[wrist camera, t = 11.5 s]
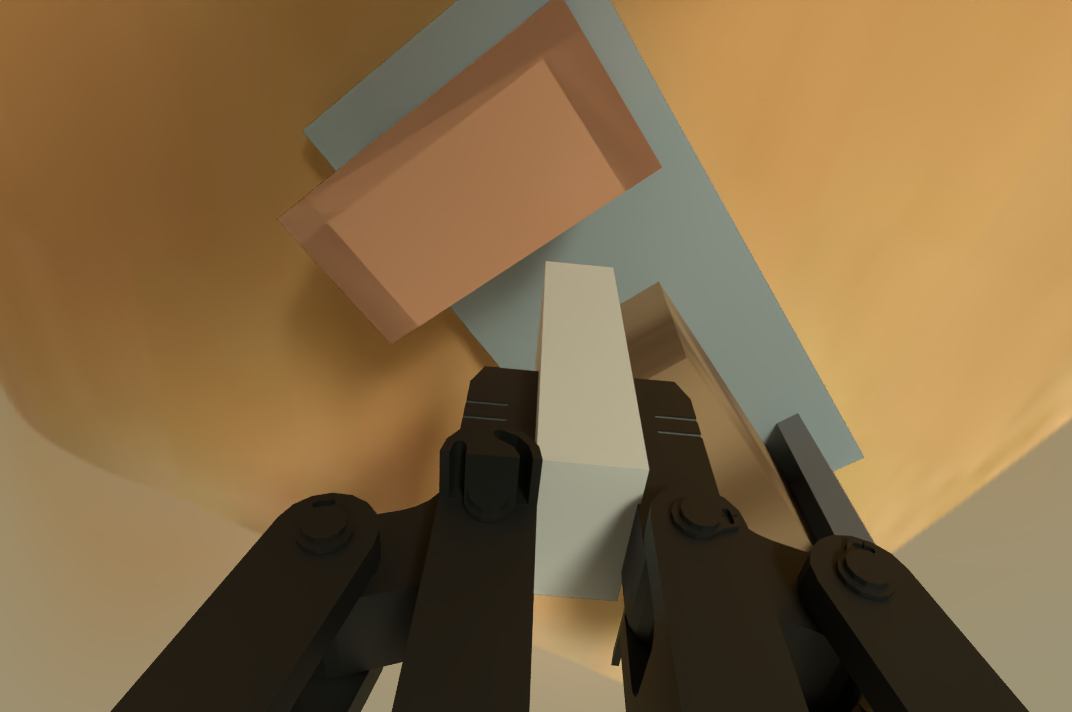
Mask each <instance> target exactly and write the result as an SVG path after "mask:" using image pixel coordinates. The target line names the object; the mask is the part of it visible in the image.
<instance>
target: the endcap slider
mask: <svg viewBox="0 0 1072 712" xmlns="http://www.w3.org/2000/svg"><path fill="white" fill-rule="evenodd" d="M661 168H662V166H661V164H660V162H659V161H658V159H657V157H656V156H655V154H654V152H653V150H652V149H651V147H650V145H649V144H648V142H647V140H646V139H645V137H644V135H643V133H642V132H641V130H640V128H639V127H638V125H637V123H636V122H635V120H634V118H633V116H632V115H631V113H630V111H629V110H628V108H627V106H626V104H625V103H624V101H623V99H622V98H621V96H620V94H619V93H618V91H617V89H616V87H615V86H614V84H613V82H612V81H611V79H610V77H609V76H608V74H607V72H606V70H605V69H604V67H603V65H602V64H601V62H600V60H599V58H598V57H597V55H596V53H595V52H594V50H593V48H592V47H591V45H590V43H589V41H588V40H587V38H586V36H585V35H584V33H583V31H582V30H581V28H580V26H579V24H578V23H577V21H576V19H575V18H574V16H573V14H572V12H571V11H570V9H569V7H568V6H567V4H566V2H565V1H564V0H550V1H549V2H548V3H547V4H545V5H544V6H543V7H541V8H540V9H539V10H538V11H536V12H535V13H534V14H533V15H531V16H530V17H529V18H528V19H526V20H525V21H524V22H523V23H521V24H520V25H519V26H518V27H516V28H515V29H514V30H513V31H511V32H510V33H509V34H507V35H506V36H505V37H504V38H502V39H501V40H500V41H499V42H497V43H496V44H495V45H494V46H492V47H491V48H490V49H489V50H487V51H486V52H485V53H484V54H482V55H481V56H480V57H479V58H477V59H476V60H475V61H473V62H472V63H471V64H470V65H468V66H467V67H466V68H465V69H463V70H462V71H461V72H460V73H458V74H457V75H456V76H455V77H453V78H452V79H451V80H450V81H448V82H447V83H446V84H445V85H443V86H442V87H441V88H439V89H438V90H437V91H436V92H434V93H433V94H432V95H431V96H429V97H428V98H427V99H426V100H424V101H423V102H422V103H421V104H419V105H418V106H417V107H416V108H414V109H413V110H412V111H411V112H409V113H408V114H407V115H406V116H404V117H403V118H402V119H400V120H399V121H398V122H397V123H395V124H394V125H393V126H392V127H390V128H389V129H388V130H387V131H385V132H384V133H383V134H382V135H380V136H379V137H378V138H377V139H375V140H374V141H373V142H372V143H370V144H369V145H368V146H366V147H365V148H364V149H363V150H361V151H360V152H359V153H358V154H356V155H355V156H354V157H353V158H352V159H350V160H349V161H348V162H347V163H345V164H344V165H343V166H342V167H340V168H339V169H338V170H337V171H336V172H334V173H333V174H332V175H331V176H329V177H328V178H327V179H326V180H324V181H323V182H322V183H321V184H320V185H318V186H317V187H316V188H315V189H313V190H312V191H311V192H310V193H308V194H307V195H306V196H305V197H304V198H302V199H301V200H300V201H299V202H297V203H296V204H295V205H294V206H292V207H291V208H290V209H289V210H288V211H286V212H285V213H284V214H283V215H281V216H280V217H279V218H278V219H276V220H277V221H278V222H279V223H280V224H281V225H282V226H283V227H284V228H285V230H286V231H287V232H288V233H289V234H290V235H291V236H292V237H293V238H294V239H295V240H296V242H297V243H298V244H299V245H300V246H301V247H302V248H303V249H304V250H305V251H306V252H307V254H308V255H309V256H310V257H311V258H312V259H313V260H314V261H315V262H316V263H317V264H318V266H319V267H320V268H321V269H322V270H323V271H324V272H325V273H326V274H327V275H328V277H329V278H330V279H331V280H332V281H333V282H334V283H335V284H336V285H337V286H338V287H339V289H340V290H341V291H342V292H343V293H344V294H345V295H346V296H347V297H348V298H349V299H350V301H351V302H352V303H353V304H354V305H355V306H356V307H357V308H358V309H359V310H360V311H361V313H362V314H363V315H364V316H365V317H366V318H367V319H368V320H369V321H370V322H371V323H372V325H373V326H374V327H375V328H376V329H377V330H378V331H379V332H380V333H381V334H382V336H383V337H384V338H385V339H386V340H387V341H388V342H389V343H390V344H391V345H392V344H393V343H395V342H396V341H398V340H399V339H401V338H402V337H404V336H405V335H407V334H408V333H410V332H411V331H413V330H415V329H416V328H418V327H419V326H421V325H422V324H424V323H425V322H427V321H428V320H430V319H431V318H433V317H434V316H436V315H437V314H439V313H441V312H442V311H444V310H445V309H447V308H448V307H450V306H451V305H453V304H454V303H456V302H457V301H459V300H460V299H462V298H463V297H465V296H467V295H468V294H470V293H471V292H473V291H474V290H476V289H477V288H479V287H480V286H482V285H483V284H485V283H486V282H488V281H489V280H491V279H493V278H494V277H496V276H497V275H499V274H500V273H502V272H503V271H505V270H506V269H508V268H509V267H511V266H512V265H514V264H515V263H517V262H519V261H520V260H522V259H523V258H525V257H526V256H528V255H529V254H531V253H532V252H534V251H535V250H537V249H538V248H540V247H541V246H543V245H545V244H546V243H548V242H549V241H551V240H552V239H554V238H555V237H557V236H558V235H560V234H561V233H563V232H564V231H566V230H567V229H569V228H571V227H572V226H574V225H575V224H577V223H578V222H580V221H581V220H583V219H584V218H586V217H587V216H589V215H590V214H592V213H593V212H595V211H597V210H598V209H600V208H601V207H603V206H604V205H606V204H607V203H609V202H610V201H612V200H613V199H615V198H616V197H618V196H619V195H621V194H623V193H624V192H626V191H627V190H629V189H630V188H632V187H633V186H635V185H636V184H638V183H639V182H641V181H642V180H644V179H645V178H647V177H649V176H650V175H652V174H653V173H655V172H656V171H658V170H659V169H661Z"/></svg>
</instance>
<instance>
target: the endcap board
mask: <svg viewBox="0 0 1072 712" xmlns="http://www.w3.org/2000/svg"><path fill="white" fill-rule="evenodd" d="M549 1H550V0H457V1H456V2H455V3H453V4H452V5H451V6H450V7H449V8H448V9H446V10H445V11H444V12H443V13H442V14H440V15H439V16H438V17H437V18H436V19H434V20H433V21H432V22H431V23H430V24H428V25H427V26H426V27H425V28H424V29H423V30H421V31H420V32H419V33H418V34H417V35H415V36H414V37H413V38H412V39H411V40H409V41H408V42H407V43H406V44H405V45H403V46H402V47H401V48H400V49H399V50H398V51H396V52H395V53H394V54H393V55H392V56H390V57H389V58H388V59H387V60H386V61H384V62H383V63H382V64H381V65H380V66H379V67H377V68H376V69H375V70H374V71H373V72H371V73H370V74H369V75H368V76H367V77H365V78H364V79H363V80H362V81H361V82H359V83H358V84H357V85H356V86H355V87H354V88H352V89H351V90H350V91H349V92H348V93H346V94H345V95H344V96H343V97H342V98H340V99H339V100H338V101H337V102H336V103H334V104H333V105H332V106H331V107H330V108H329V109H327V110H326V111H325V112H324V113H323V114H321V115H320V116H319V117H318V118H317V119H315V120H314V121H313V122H312V123H311V124H309V125H308V126H307V127H306V128H305V129H304V130H302V131H303V132H304V134H305V135H306V136H307V137H308V138H309V139H310V141H311V142H312V143H313V144H314V145H315V147H316V148H317V149H318V150H319V151H320V153H321V154H322V155H323V156H324V157H325V159H326V160H327V161H328V162H329V163H330V165H331V166H332V167H333V168H334V169H335V171H337V170H338V169H339V168H340V167H342V166H343V165H344V164H345V163H347V162H348V161H349V160H350V159H352V158H353V157H354V156H355V155H356V154H358V153H359V152H360V151H361V150H363V149H364V148H365V147H366V146H368V145H369V144H370V143H372V142H373V141H374V140H375V139H377V138H378V137H379V136H380V135H382V134H383V133H384V132H385V131H387V130H388V129H389V128H390V127H392V126H393V125H394V124H395V123H397V122H398V121H399V120H400V119H402V118H403V117H404V116H406V115H407V114H408V113H409V112H411V111H412V110H413V109H414V108H416V107H417V106H418V105H419V104H421V103H422V102H423V101H424V100H426V99H427V98H428V97H429V96H431V95H432V94H433V93H434V92H436V91H437V90H438V89H439V88H441V87H442V86H443V85H445V84H446V83H447V82H448V81H450V80H451V79H452V78H453V77H455V76H456V75H457V74H458V73H460V72H461V71H462V70H463V69H465V68H466V67H467V66H468V65H470V64H471V63H472V62H473V61H475V60H476V59H477V58H479V57H480V56H481V55H482V54H484V53H485V52H486V51H487V50H489V49H490V48H491V47H492V46H494V45H495V44H496V43H497V42H499V41H500V40H501V39H502V38H504V37H505V36H506V35H507V34H509V33H510V32H511V31H513V30H514V29H515V28H516V27H518V26H519V25H520V24H521V23H523V22H524V21H525V20H526V19H528V18H529V17H530V16H531V15H533V14H534V13H535V12H536V11H538V10H539V9H540V8H541V7H543V6H544V5H545V4H547V3H548V2H549ZM564 1H565V2H566V4H567V6H568V7H569V9H570V11H571V12H572V14H573V16H574V18H575V19H576V21H577V23H578V24H579V26H580V28H581V30H582V31H583V33H584V35H585V36H586V38H587V40H588V41H589V43H590V45H591V47H592V48H593V50H594V52H595V53H596V55H597V57H598V58H599V60H600V62H601V64H602V65H603V67H604V69H605V70H606V72H607V74H608V76H609V77H610V79H611V81H612V82H613V84H614V86H615V87H616V89H617V91H618V93H619V94H620V96H621V98H622V99H623V101H624V103H625V104H626V106H627V108H628V110H629V111H630V113H631V115H632V116H633V118H634V120H635V122H636V123H637V125H638V127H639V128H640V130H641V132H642V133H643V135H644V137H645V139H646V140H647V142H648V144H649V145H650V147H651V149H652V150H653V152H654V154H655V156H656V157H657V159H658V161H659V162H660V164H661V166H662V168H661V169H659V170H658V171H656V172H655V173H653V174H652V175H650V176H649V177H647V178H645V179H644V180H642V181H641V182H639V183H638V184H636V185H635V186H633V187H632V188H630V189H629V190H627V191H626V192H624V193H623V194H621V195H619V196H618V197H616V198H615V199H613V200H612V201H610V202H609V203H607V204H606V205H604V206H603V207H601V208H600V209H598V210H597V211H595V212H593V213H592V214H590V215H589V216H587V217H586V218H584V219H583V220H581V221H580V222H578V223H577V224H575V225H574V226H572V227H571V228H569V229H567V230H566V231H564V232H563V233H561V234H560V235H558V236H557V237H555V238H554V239H552V240H551V241H549V242H548V243H546V244H545V245H543V246H541V247H540V248H538V249H537V250H535V251H534V252H532V253H531V254H529V255H528V256H526V257H525V258H523V259H522V260H520V261H519V262H517V263H515V264H514V265H512V266H511V267H509V268H508V269H506V270H505V271H503V272H502V273H500V274H499V275H497V276H496V277H494V278H493V279H491V280H489V281H488V282H486V283H485V284H483V285H482V286H480V287H479V288H477V289H476V290H474V291H473V292H471V293H470V294H468V295H467V296H465V297H463V298H462V299H460V300H459V301H457V302H456V303H454V304H453V305H451V306H450V308H451V309H452V310H453V312H454V313H455V314H456V315H457V316H458V318H459V319H460V320H461V321H462V322H463V324H464V325H465V326H466V327H467V328H468V330H469V331H470V332H471V333H472V334H473V336H474V337H475V338H476V339H477V340H478V342H479V343H480V344H481V345H482V346H483V347H484V349H485V350H486V351H487V352H488V353H489V355H490V356H491V357H492V358H493V359H494V361H495V362H496V363H497V364H498V365H499V367H500V368H509V369H520V370H531V371H535V360H536V350H537V341H538V331H539V322H540V312H541V302H542V293H543V283H544V274H545V264H546V261H550V262H560V263H571V264H581V265H592V266H602V267H613V269H614V275H615V280H616V286H617V291H618V297H619V303H620V304H621V303H623V302H625V301H626V300H628V299H630V298H631V297H633V296H635V295H637V294H638V293H640V292H642V291H643V290H645V289H647V288H648V287H650V286H652V285H653V284H655V283H657V282H658V281H659V282H660V284H661V285H662V287H663V288H664V290H665V291H666V293H667V295H668V296H669V298H670V299H671V301H672V302H673V304H674V305H675V307H676V308H677V310H678V311H679V313H680V315H681V316H682V318H683V319H684V321H685V322H686V324H687V325H688V327H689V328H690V330H691V331H692V333H693V335H694V336H695V338H696V339H697V341H698V342H699V344H700V345H701V347H702V348H703V350H704V352H705V353H706V355H707V356H708V358H709V359H710V361H711V362H712V364H713V365H714V367H715V368H716V370H717V372H718V373H719V375H720V376H721V378H722V379H723V381H724V382H725V384H726V385H727V387H728V389H729V390H730V392H731V393H732V395H733V396H734V398H735V399H736V401H737V402H738V404H739V405H740V407H741V409H742V410H743V412H744V413H745V415H746V416H747V418H748V419H749V421H750V422H751V424H752V425H753V427H754V429H755V430H756V432H757V433H758V435H759V436H760V438H761V439H762V441H763V442H764V444H765V446H766V447H767V449H768V450H769V452H770V453H771V455H772V456H773V458H774V459H775V461H776V462H777V464H778V466H779V467H780V469H781V470H782V472H783V473H784V475H785V476H786V478H787V480H788V483H789V485H790V487H791V489H792V491H793V493H794V495H795V497H796V499H797V501H798V503H799V505H800V508H801V510H802V512H803V514H804V516H805V518H806V520H807V522H808V524H809V526H810V528H811V530H812V533H813V535H814V537H815V539H816V541H818V540H819V539H822V538H825V537H828V536H831V535H846V536H854V537H857V538H860V539H863V540H866V541H869V542H872V543H874V541H873V539H872V538H871V536H870V534H869V533H868V531H867V529H866V527H865V526H864V524H863V522H862V521H861V519H860V517H859V515H858V514H857V512H856V510H855V509H854V507H853V505H852V503H851V502H850V500H849V498H848V497H847V495H846V493H845V491H844V490H843V488H842V486H841V485H840V483H839V481H838V479H837V478H836V476H835V474H834V473H833V471H835V470H837V469H840V468H842V467H844V466H846V465H849V464H851V463H853V462H855V461H858V460H860V459H862V458H864V456H863V454H862V452H861V450H860V449H859V447H858V445H857V443H856V441H855V440H854V438H853V436H852V434H851V432H850V431H849V429H848V427H847V425H846V423H845V422H844V420H843V418H842V416H841V415H840V413H839V411H838V409H837V407H836V406H835V404H834V402H833V400H832V398H831V397H830V395H829V393H828V391H827V389H826V388H825V386H824V384H823V382H822V380H821V379H820V377H819V375H818V373H817V371H816V370H815V368H814V366H813V364H812V362H811V361H810V359H809V357H808V355H807V353H806V352H805V350H804V348H803V346H802V344H801V343H800V341H799V339H798V337H797V335H796V334H795V332H794V330H793V328H792V326H791V325H790V323H789V321H788V319H787V317H786V316H785V314H784V312H783V310H782V308H781V307H780V305H779V303H778V301H777V299H776V298H775V296H774V294H773V292H772V290H771V289H770V287H769V285H768V283H767V281H766V280H765V278H764V276H763V274H762V272H761V271H760V269H759V267H758V265H757V263H756V262H755V260H754V258H753V256H752V254H751V253H750V251H749V249H748V247H747V245H746V244H745V242H744V240H743V238H742V236H741V235H740V233H739V231H738V229H737V227H736V226H735V224H734V222H733V220H732V219H731V217H730V215H729V213H728V211H727V210H726V208H725V206H724V204H723V202H722V201H721V199H720V197H719V195H718V193H717V192H716V190H715V188H714V186H713V184H712V183H711V181H710V179H709V177H708V175H707V174H706V172H705V170H704V168H703V166H702V165H701V163H700V161H699V159H698V157H697V156H696V154H695V152H694V150H693V148H692V147H691V145H690V143H689V141H688V139H687V138H686V136H685V134H684V132H683V130H682V129H681V127H680V125H679V123H678V121H677V120H676V118H675V116H674V114H673V112H672V111H671V109H670V107H669V105H668V103H667V102H666V100H665V98H664V96H663V94H662V93H661V91H660V89H659V87H658V85H657V84H656V82H655V80H654V78H653V76H652V75H651V73H650V71H649V69H648V67H647V66H646V64H645V62H644V60H643V58H642V57H641V55H640V53H639V51H638V49H637V48H636V46H635V44H634V42H633V40H632V39H631V37H630V35H629V33H628V31H627V30H626V28H625V26H624V24H623V22H622V21H621V19H620V17H619V15H618V14H617V12H616V10H615V8H614V6H613V5H612V3H611V1H610V0H564ZM874 544H875V543H874Z"/></svg>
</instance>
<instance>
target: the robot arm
mask: <svg viewBox="0 0 1072 712" xmlns="http://www.w3.org/2000/svg"><path fill="white" fill-rule="evenodd" d="M621 583H622V585H623V595H624V605H625V608H624V612H623V616H622V620H621V623H620V627H619V631H618V635H617V639H616V643H615V647H614V651H613V657H612V664H611V665H615V666H619V663H620V659H621V660H622V671H623V683H624V694H625V706H626V712H1029V711H1028V710H1027V709H1026V708H1025V706H1024V705H1023V704H1022V703H1021V702H1020V700H1019V699H1018V698H1017V697H1016V696H1015V695H1014V694H1013V692H1012V691H1011V690H1010V689H1009V687H1008V686H1007V685H1006V684H1005V683H1004V682H1003V681H1002V679H1001V678H1000V677H999V676H998V675H997V673H996V672H995V671H994V670H993V669H992V667H991V666H990V665H989V664H988V663H987V662H986V660H985V659H984V658H983V657H982V656H981V654H980V653H979V652H978V651H977V650H976V649H975V647H974V646H973V645H972V644H971V643H970V642H969V640H968V639H967V638H966V637H965V636H964V634H963V633H962V632H961V631H960V630H959V629H958V627H956V625H955V624H954V623H953V621H952V620H951V619H950V618H949V617H948V616H947V615H946V613H945V612H944V611H943V610H942V609H941V607H940V606H939V605H938V604H937V603H936V601H935V600H934V599H933V598H932V597H931V596H930V594H929V593H928V592H927V591H926V590H925V588H924V587H923V586H922V585H921V584H920V583H919V581H918V580H917V579H916V578H915V577H914V576H913V574H912V573H911V572H910V571H909V570H908V569H907V568H906V567H905V566H904V565H903V564H902V563H901V562H900V561H899V560H898V559H897V558H895V557H894V556H893V555H892V554H891V553H889V552H887V551H886V550H884V549H882V548H881V547H879V546H877V545H875V544H874V543H872V542H869V541H866V540H863V539H860V538H857V537H854V536H846V535H831V536H828V537H825V538H822V539H819V540H818V541H817V542H816V544H815V545H814V546H813V547H812V549H811V550H810V552H809V553H808V552H805V551H802V550H799V549H796V548H793V547H790V546H787V545H784V544H781V543H778V542H775V541H772V540H770V539H768V538H765V537H763V536H761V535H758V534H756V533H755V532H753V531H752V530H750V529H748V526H747V524H746V522H745V520H744V518H743V517H742V515H741V513H740V512H739V510H738V509H737V508H736V507H735V506H733V505H732V504H731V503H730V502H729V501H728V500H727V499H725V498H724V497H722V496H720V494H719V491H718V488H717V484H716V481H715V478H714V474H713V471H712V468H711V465H710V461H709V458H708V455H707V451H706V448H705V445H704V441H703V438H701V432H700V428H699V425H698V422H696V415H695V412H694V408H693V405H692V402H691V399H690V398H689V397H688V396H687V395H686V394H685V392H684V391H683V390H682V389H681V388H680V387H679V386H678V385H677V384H676V383H675V382H671V381H660V380H650V379H639V378H633V376H632V370H631V365H630V359H629V353H628V348H627V342H626V336H625V331H624V325H623V320H622V314H621V308H620V303H619V297H618V291H617V286H616V280H615V275H614V269H613V267H602V266H592V265H581V264H571V263H560V262H550V261H546V264H545V274H544V283H543V293H542V302H541V312H540V322H539V331H538V341H537V350H536V360H535V371H531V370H520V369H509V368H498V367H487V366H485V367H484V368H483V369H482V370H481V371H480V372H479V373H478V374H477V375H476V376H475V377H474V378H473V379H472V380H471V381H470V386H469V391H468V395H467V401H466V405H465V409H464V414H463V418H462V423H461V428H460V429H459V430H458V431H457V432H455V433H454V434H452V435H451V436H450V437H448V438H447V439H446V441H445V443H444V444H443V446H442V448H441V450H440V483H439V493H438V494H437V495H436V496H434V497H433V498H432V499H430V500H429V501H427V502H425V503H423V504H420V505H418V506H416V507H412V508H408V509H405V510H400V511H394V512H388V513H382V514H376V512H375V511H374V510H373V509H372V507H371V506H370V505H369V504H368V503H367V502H365V501H363V500H361V499H359V498H357V497H355V496H353V495H347V494H339V493H329V494H322V495H316V496H311V497H309V498H307V499H305V500H302V501H300V502H298V503H295V504H293V505H292V506H291V507H290V508H288V509H287V510H286V511H285V512H284V513H282V514H281V515H280V516H279V517H278V518H277V519H276V520H275V521H274V522H273V524H272V525H271V526H270V527H269V528H268V529H267V531H266V532H265V533H264V534H263V535H262V536H261V537H260V539H259V540H258V541H257V542H256V543H255V544H254V546H253V547H252V548H251V549H250V550H249V552H248V553H247V554H246V555H245V556H244V557H243V558H242V560H241V561H240V562H239V563H238V564H237V565H236V567H235V568H234V569H233V570H232V571H231V572H230V574H229V575H228V576H227V577H226V578H225V579H224V581H223V582H222V583H221V584H220V585H219V586H218V587H217V589H216V590H215V591H214V592H213V593H212V595H211V596H210V597H209V598H208V599H207V600H206V601H205V603H204V604H203V605H202V606H201V607H200V608H199V609H198V611H197V612H196V613H195V614H194V615H193V616H192V618H191V619H190V620H189V621H188V622H187V623H186V625H185V626H184V627H183V628H182V629H181V630H180V632H179V633H178V634H177V635H176V636H175V638H173V640H172V641H171V642H170V643H169V644H168V645H167V647H166V648H165V649H164V650H163V651H162V653H161V654H160V655H159V656H158V657H157V658H156V659H155V661H154V662H153V663H152V664H151V665H150V666H149V668H148V669H147V670H146V671H145V672H144V673H143V674H142V676H141V677H140V678H139V679H138V680H137V681H136V683H135V684H134V685H133V686H132V687H131V688H130V690H129V691H128V692H127V693H126V694H125V695H124V697H123V698H122V699H121V700H120V701H119V702H118V703H117V705H116V706H115V707H114V708H113V709H112V711H111V712H361V710H362V708H363V706H364V704H365V703H366V701H367V699H368V697H369V695H370V693H371V691H372V689H373V687H374V685H375V683H376V681H377V679H378V677H379V675H380V673H381V672H382V669H383V666H387V665H392V664H396V663H400V662H403V663H402V668H401V673H400V677H399V681H398V686H397V691H396V695H395V699H394V704H393V708H392V712H529V706H530V705H529V704H530V679H531V652H532V627H533V601H534V594H536V595H547V596H559V597H571V598H583V599H594V600H606V601H617V599H618V595H619V591H620V587H621Z"/></svg>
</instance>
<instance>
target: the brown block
mask: <svg viewBox="0 0 1072 712" xmlns="http://www.w3.org/2000/svg"><path fill="white" fill-rule="evenodd" d="M620 308H621V314H622V320H623V325H624V331H625V336H626V342H627V348H628V353H629V359H630V365H631V370H632V376H633V378H639V379H650V380H660V381H671V382H675V383H676V384H677V385H678V386H679V387H680V388H681V389H682V390H683V391H684V392H685V394H686V395H687V396H688V397H689V398H690V399H691V402H692V405H693V408H694V412H695V415H696V422H698V425H699V428H700V432H701V438H703V441H704V445H705V448H706V451H707V455H708V458H709V461H710V465H711V468H712V471H713V474H714V478H715V481H716V484H717V488H718V491H719V494H720V496H722V497H724V498H725V499H727V500H728V501H729V502H730V503H731V504H732V505H733V506H735V507H736V508H737V509H738V510H739V512H740V513H741V515H742V517H743V518H744V520H745V522H746V524H747V526H748V529H750V530H752V531H753V532H755V533H756V534H758V535H761V536H763V537H765V538H768V539H770V540H772V541H775V542H778V543H781V544H784V545H787V546H790V547H793V548H796V549H799V550H802V551H805V552H808V553H809V552H810V550H811V549H812V547H813V546H814V545H815V544H816V542H817V541H816V539H815V537H814V535H813V533H812V530H811V528H810V526H809V524H808V522H807V520H806V518H805V516H804V514H803V512H802V510H801V508H800V505H799V503H798V501H797V499H796V497H795V495H794V493H793V491H792V489H791V487H790V485H789V483H788V480H787V478H786V476H785V475H784V473H783V472H782V470H781V469H780V467H779V466H778V464H777V462H776V461H775V459H774V458H773V456H772V455H771V453H770V452H769V450H768V449H767V447H766V446H765V444H764V442H763V441H762V439H761V438H760V436H759V435H758V433H757V432H756V430H755V429H754V427H753V425H752V424H751V422H750V421H749V419H748V418H747V416H746V415H745V413H744V412H743V410H742V409H741V407H740V405H739V404H738V402H737V401H736V399H735V398H734V396H733V395H732V393H731V392H730V390H729V389H728V387H727V385H726V384H725V382H724V381H723V379H722V378H721V376H720V375H719V373H718V372H717V370H716V368H715V367H714V365H713V364H712V362H711V361H710V359H709V358H708V356H707V355H706V353H705V352H704V350H703V348H702V347H701V345H700V344H699V342H698V341H697V339H696V338H695V336H694V335H693V333H692V331H691V330H690V328H689V327H688V325H687V324H686V322H685V321H684V319H683V318H682V316H681V315H680V313H679V311H678V310H677V308H676V307H675V305H674V304H673V302H672V301H671V299H670V298H669V296H668V295H667V293H666V291H665V290H664V288H663V287H662V285H661V284H660V282H659V281H658V282H657V283H655V284H653V285H652V286H650V287H648V288H647V289H645V290H643V291H642V292H640V293H638V294H637V295H635V296H633V297H631V298H630V299H628V300H626V301H625V302H623V303H621V304H620Z"/></svg>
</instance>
